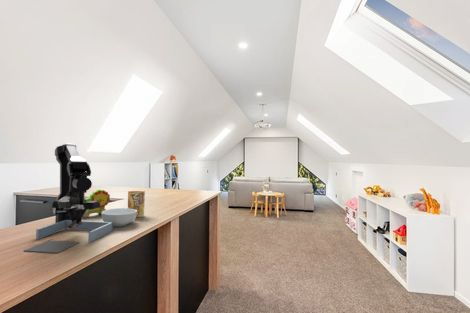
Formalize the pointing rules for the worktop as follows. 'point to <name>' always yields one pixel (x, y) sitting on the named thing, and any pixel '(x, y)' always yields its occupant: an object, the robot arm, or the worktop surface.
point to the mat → (51, 246)
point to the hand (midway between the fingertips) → (75, 223)
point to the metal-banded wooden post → (73, 224)
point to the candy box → (136, 201)
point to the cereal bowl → (119, 216)
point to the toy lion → (102, 198)
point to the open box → (96, 227)
